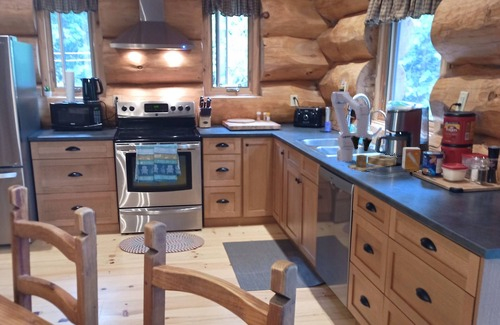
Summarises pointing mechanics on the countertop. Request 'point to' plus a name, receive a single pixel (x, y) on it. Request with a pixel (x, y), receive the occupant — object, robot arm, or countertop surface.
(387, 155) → the lid
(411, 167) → the small box
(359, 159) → the walnut block
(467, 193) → the countertop surface
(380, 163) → the puzzle board
